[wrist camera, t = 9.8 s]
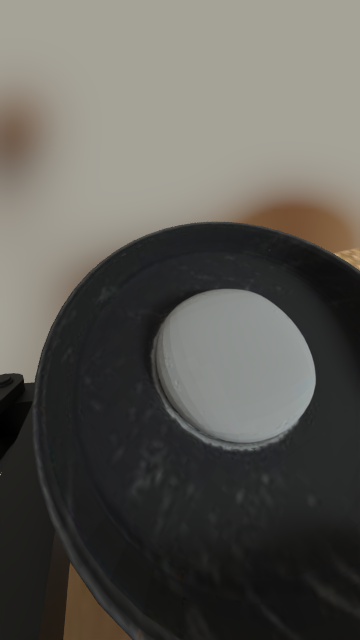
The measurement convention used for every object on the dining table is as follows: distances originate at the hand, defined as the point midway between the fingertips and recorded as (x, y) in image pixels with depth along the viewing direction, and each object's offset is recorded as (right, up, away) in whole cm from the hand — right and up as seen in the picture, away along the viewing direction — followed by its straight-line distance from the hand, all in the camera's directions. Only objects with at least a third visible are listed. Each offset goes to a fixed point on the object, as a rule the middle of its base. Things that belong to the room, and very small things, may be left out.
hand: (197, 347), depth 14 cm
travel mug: (-1, -8, +7) cm, 11 cm away
